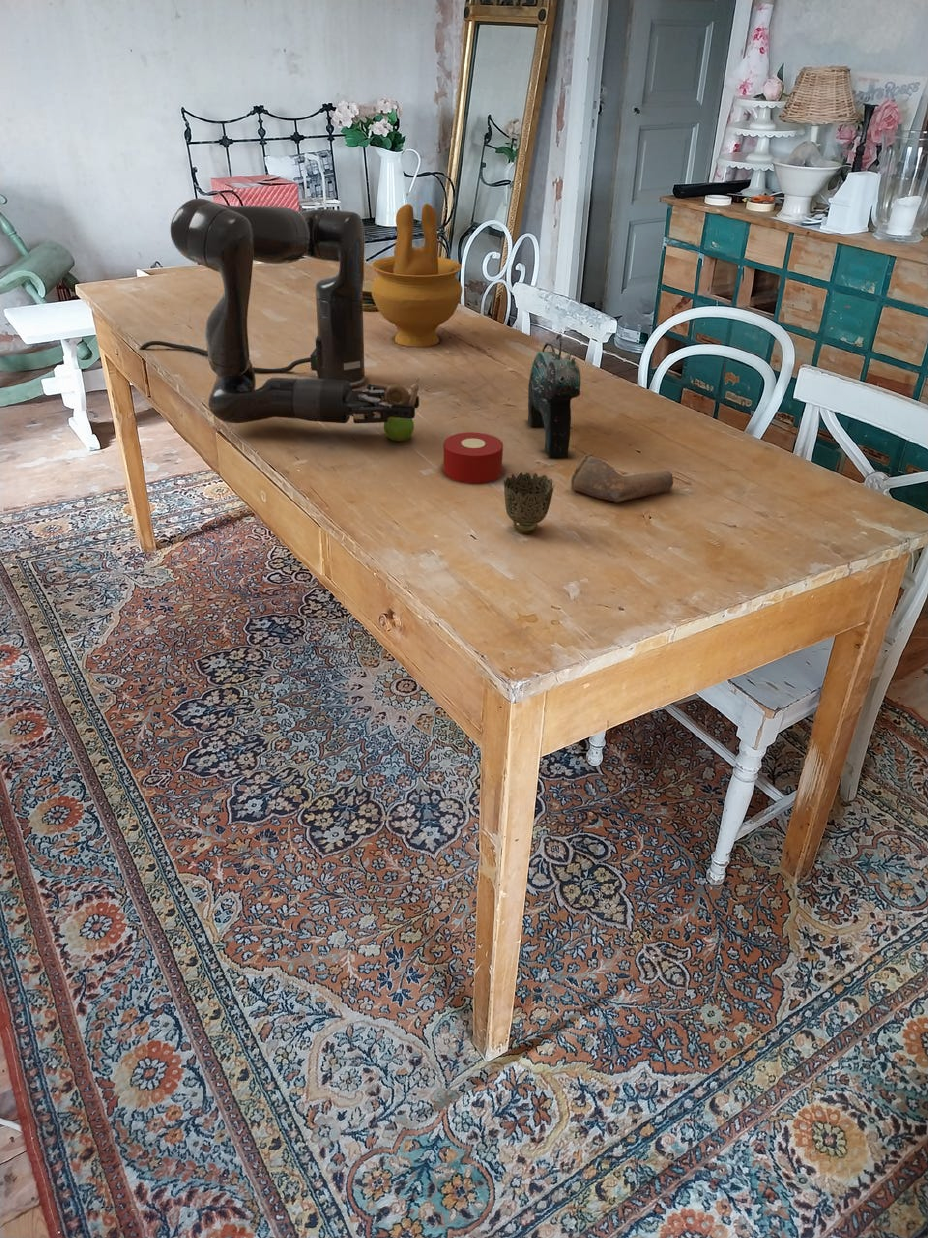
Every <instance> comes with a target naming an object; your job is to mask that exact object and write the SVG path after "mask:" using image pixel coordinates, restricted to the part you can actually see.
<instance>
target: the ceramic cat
mask: <svg viewBox="0 0 928 1238" xmlns="http://www.w3.org/2000/svg"><path fill="white" fill-rule="evenodd" d="M555 338H556V340H558V339H559V350H558V353H556V350H555V348H554V346H553V344H552V343H551V342H546V343H544V346H543V348H542V351H539V352H537V354H536V355H535V357H534V359H533V362H532V366H531V368H530V369H531V370H530V374H529V380H528V387H527V391H528V392H527V421H528V425H529V426H530V427H531V428H544V435H545V436H544V452H545V453H546V454H547V456H548V458H550V459H560V458H568V456H569V448H570V441H571V435H572V433H571V432H572V431H571V429H572V428H571V426H572V409H571V407H572V406H571V405H572V404H571V402H572V400H573V399H574V398H578V397H579V396H580V395H581V371H580V367H579V364H578V363H577V361H576V357H573V358H571V356H572V352H571V353H568V354H567V355H566V356H565V357H564V358H562V355H561V354H562V346H563V339H562V334H561V333H558V334H557V336H556V337H555ZM548 346H549V347H550V348H551V351H546V349H547V347H548Z"/></svg>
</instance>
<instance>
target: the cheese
mask: <svg viewBox="0 0 928 1238" xmlns="http://www.w3.org/2000/svg"><path fill="white" fill-rule="evenodd" d="M503 452H504V444H503V441H502V440H501V439H499V437H496V436H494V435H491V434H488V433H483V432H469V431H468V432H459V433H455V434H452V435H450V436H448V437H446V438H445V439H444V441H443V454H442V455H443V457H442V458H443V460H442V462H443V463H442V473H443V474H444V475H445V477H447V478H449V479H451V480H453V481H456V482H460V483H465V484H485V483H491V482H493V481H495V480H497V479H499V478H500V477H501V475H502V471H503V469H502V468H503V454H504V453H503Z"/></svg>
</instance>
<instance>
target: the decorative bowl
mask: <svg viewBox="0 0 928 1238" xmlns="http://www.w3.org/2000/svg"><path fill="white" fill-rule="evenodd" d="M414 215H415V214H414V208H413V206H412V205H411V204H407V203H406V204H404V205H402V206H401V207H400V208H399V209H397V212H396V215H395V225H396V230H397V231H396V232H397V237H396V241H395V245H394V249H393V254H394V255H393V256H386V257H382V258H379V259H375V261H373V262H371V267H372V268H373V270H374V271H375V272H376V273H377V276H376V277H375V278H374V279H373V280H372V281H373V283H372V285H371V293H372V297H373V299H374V302H375V304H376V306H377V308H378V310H377V311H378V312H379V314H380V315H381V316H382V317H383V318H384V319H385V320H386V321H387V322H389V324H392V325H394V326H395V327H396V328H397V333H396V335H395V337H394V342H395V343H396V344H399V345H400V346H406V347H413V348H414V347H416V348H419V347H421V348H422V347H430V346H434V345H436V344H438V343H439V342H440V338H439V336H438V334H437V332H436V331H437V328H438V327H439V326H440V325H443V324H444V323H446V322H448V321H449V320H450V319H451V317H452V316H453V315H454V314H455V312H456V310H457V308H458V307H459V304H460V301H461V300H462V295H463V286H462V284H461V282H460V281H459V279H458V278H457V276H456V275H457V274H458V273H459V272H460V270H461V269H462V268H463V266H462V264H461V263H460V262H458V261H456V260H453V259H450V258H446V257H442V256H438V249H439V242H438V217H437V212H436V210H435V208H434V207H433V206H432V205H431V204H429V203H424V204H423V206H422V207H421V214H420V215H421V230H422V233H423V237H424V244H423V245H422V246H420V247H417V246H413V236H414V224H415V223H414V219H415V217H414Z"/></svg>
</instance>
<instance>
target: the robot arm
mask: <svg viewBox="0 0 928 1238" xmlns="http://www.w3.org/2000/svg"><path fill="white" fill-rule="evenodd" d="M364 225H365V224H364V222H363V219H362V217H361V216H360V214H359V213H357V212H354V211H349V210H341V209H340V210H339V209H330V208H329V209H328V208H315V209H311V210H306V211H300V212H299V211H298V210H296V209H294V208H291V207H287V206H278V205H228V204H223V203H218V202H214V201H211V200H209V199H205V198H199V197H198V198H193V199H190V200H188V201H186V202H184V203H183V204H182V205H180V206H179V208H178V209H177V210H176V212H175V213H174V215H173V217H172V219H171V223H170V238H171V241H172V244H173V245H174V247H175V249H176V250H177V251H178V252H179V254H181V256H183V257H185V259H188V260H189V261H191V262H193V263H196V264H199V265H201V266H203V267H205V268H208V269H210V270H212V271H214V272H218V273H219V274H220V276H221V280H222V286H223V292H222V295H221V297H220V298H219V300H218V302H217V303H216V304H215V306H214V307H213V308H212V310H211V312H210V313H209V315H208V317H207V319H206V323H205V330H204V334H205V343H206V350H205V349H202V348H198V347H194V346H192V345H191V346H190V345H183V344H177V343H171V342H168V341H167V342H166V341H161V340H150V341H147V342H145V343H143V344H142V345H140V347H139V351H144V350H146V349H147V348H149V347H152V346H162V347H166V348H172V349H176V350H182V351H183V350H184V351H191V352H194V353H198V354H201V355H204V356H207V359H208V360H207V361H208V363H209V367H210V369H211V370H212V371H213V372H214V374H216V378H215V382H214V384H213V387H212V390H211V392H210V394H209V397H208V401H207V402H208V403H207V404H208V408H209V412H211V414H212V415H213V416H214V417H215V418H217V419H218V420H220V421H222V422H225V423H229V424H244V423H245V424H246V423H250V422H251V423H252V422H256V421H257V422H258V421H262V420H268V419H271V418H283V419H298V420H303V421H308V422H320V423H331V424H332V423H333V424H347V423H348V422H349V420H350V418H351V417H352V419H353V423H354V424H355V425H356V424H381V423H382V424H384V423H385V422H387V421H388V419H392V418H393V417H397V418H412V419H414V418H415V416H416V409H418V408H419V406H420V397H419V395H417V397H416V401H415V404H414V406H413V405H403V404H394V405H393V404H391V403H388V402H387V401H386V399H385V392H386V389H387V388H388V387H389V386H385V385H384V386H383V385H377V384H372V383H368V384H367V383H366V375H365V374H366V369H365V337H364V333H365V332H364V310H363V293H362V290H363V282H364V280H365V247H366V246H365V245H366V243H365V240H366V235H365V234H366V233H365V226H364ZM303 257H307V258H312V259H316V260H318V261H319V260H320V261H327V262H335V263H339V266H338V267H339V268H338V273H336V274H335V275H331V276H327V277H324V278H321V279H320V280H318V281H317V282H316V283H315V303H316V320H317V323H316V324H317V335H316V337H315V349H314V350H313V352H311V354H310V357H305V358H299V359H296V360H294V361H292V362H291V363H290V364H289V365H287V366H285V367H279V368H263V367H254V366H253V363H252V361H251V359H250V346H249V343H250V342H249V333H248V332H249V331H248V315H249V307H250V306H249V304H250V297H251V288H252V278H253V270H254V269H253V268H254V262H257V263H262V264H269V265H287V264H291V263H295V262H298V261H299V260H301V259H302V258H303ZM307 363H310V371H315V372H316V373H317V374H316V375H317V377H307V378H306V377H305V378H304V377H303V378H293V377H281V376H279V377H278V376H277V377H274V376H273V377H270V378H268V379H267V380H265V382H264V383H263V384H262V385H261V386H260V387H258V388H257V387H256V385H257V383H256V382H257V379H256V373H261V374H281V373H286V372H287V373H288V372H290V371H292V370H293V369H294V368H295V367H296V366H298V365H302V364H307ZM365 383H366V385H365V386H366V388H360V389H355V390H353V389H352V388H357V387H360V386H362V385H364V384H365ZM256 388H257V389H256ZM410 395H411V394H409V396H410Z"/></svg>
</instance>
